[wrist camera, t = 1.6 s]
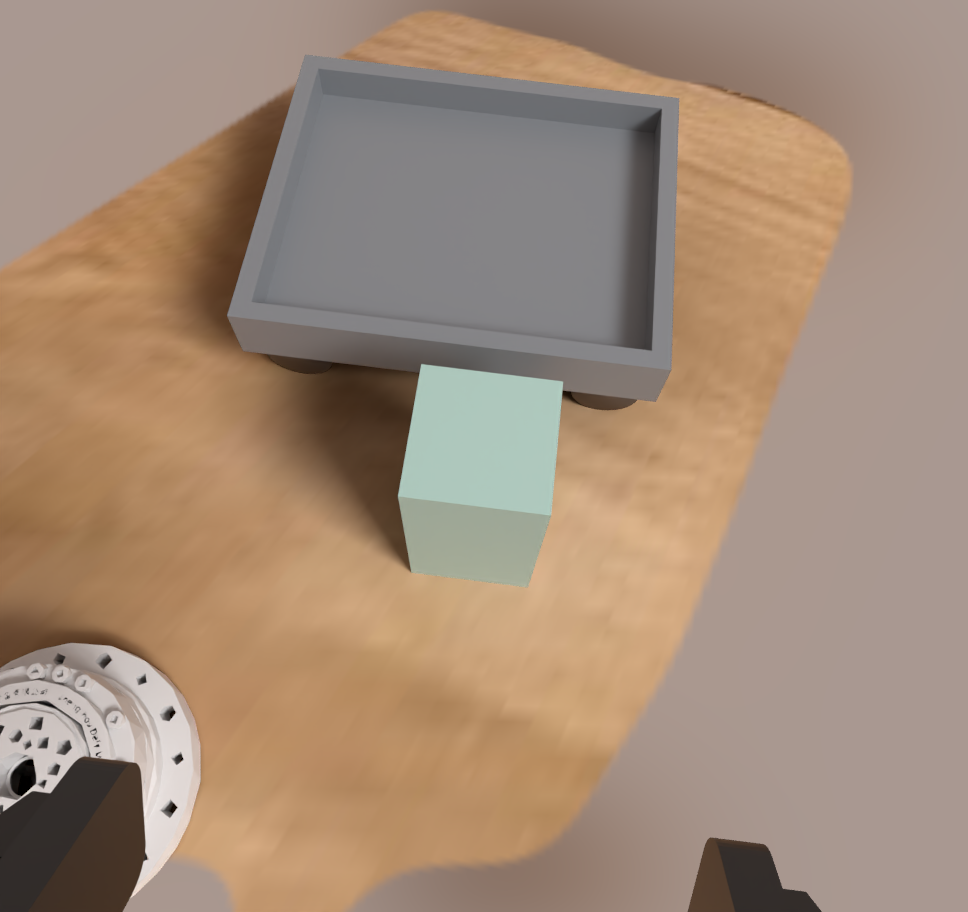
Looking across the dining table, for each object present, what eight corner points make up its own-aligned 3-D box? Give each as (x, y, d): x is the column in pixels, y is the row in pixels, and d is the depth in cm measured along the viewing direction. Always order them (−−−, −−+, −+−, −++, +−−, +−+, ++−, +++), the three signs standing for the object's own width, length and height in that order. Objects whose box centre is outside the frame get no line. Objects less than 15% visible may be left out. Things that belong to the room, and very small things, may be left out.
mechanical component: (240, 680, 32) (8, 624, 33) (210, 661, 28) (-54, 598, 29) (143, 962, 28) (-118, 892, 29) (92, 987, 24) (-210, 905, 25)
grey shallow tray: (258, 384, 38) (226, 316, 32) (322, 145, 44) (305, 54, 39) (640, 431, 37) (671, 370, 32) (652, 183, 43) (679, 98, 38)
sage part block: (411, 572, 34) (397, 496, 26) (428, 465, 36) (421, 363, 28) (527, 587, 34) (551, 515, 26) (538, 479, 36) (563, 381, 28)
